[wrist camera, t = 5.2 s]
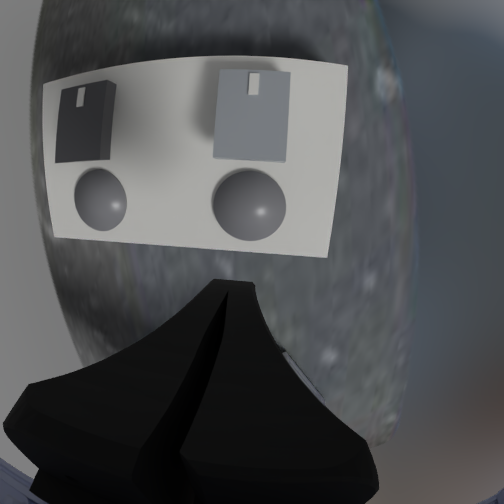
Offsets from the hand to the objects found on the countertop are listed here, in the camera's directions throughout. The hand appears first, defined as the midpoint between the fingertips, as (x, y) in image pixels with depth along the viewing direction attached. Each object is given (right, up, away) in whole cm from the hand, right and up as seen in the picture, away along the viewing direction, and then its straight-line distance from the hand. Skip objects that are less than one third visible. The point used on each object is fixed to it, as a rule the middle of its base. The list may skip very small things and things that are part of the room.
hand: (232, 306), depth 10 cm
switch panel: (-3, +8, +7) cm, 11 cm away
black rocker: (-8, +8, +3) cm, 12 cm away
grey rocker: (+1, +8, +2) cm, 8 cm away
